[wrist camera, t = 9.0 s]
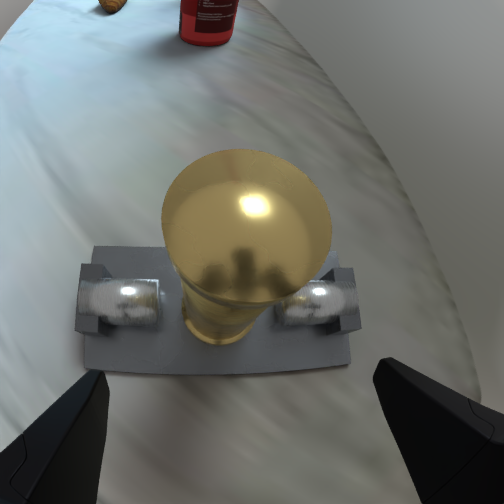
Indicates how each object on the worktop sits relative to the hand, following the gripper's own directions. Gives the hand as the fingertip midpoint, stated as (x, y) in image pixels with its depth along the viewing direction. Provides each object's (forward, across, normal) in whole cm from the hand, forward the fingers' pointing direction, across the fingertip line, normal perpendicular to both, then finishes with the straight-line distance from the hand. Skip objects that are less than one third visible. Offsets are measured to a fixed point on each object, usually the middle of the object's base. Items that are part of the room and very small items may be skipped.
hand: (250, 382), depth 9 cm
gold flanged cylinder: (+11, 0, +4) cm, 12 cm away
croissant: (+51, +22, -36) cm, 66 cm away
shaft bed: (+12, 0, +5) cm, 12 cm away
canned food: (+38, +3, -23) cm, 45 cm away
